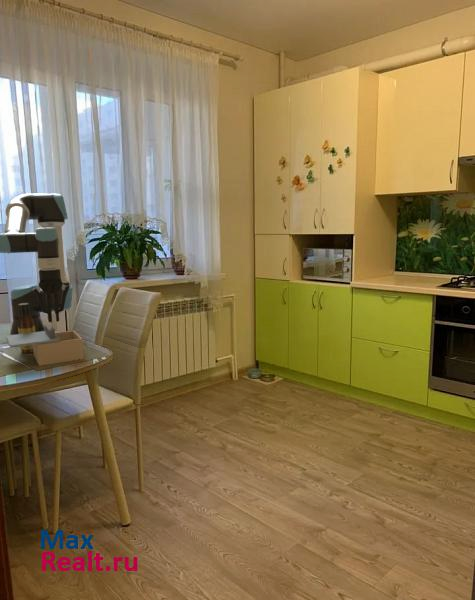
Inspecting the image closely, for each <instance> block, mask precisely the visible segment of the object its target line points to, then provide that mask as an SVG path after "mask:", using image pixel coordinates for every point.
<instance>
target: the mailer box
mask: <svg viewBox="0 0 475 600" xmlns="http://www.w3.org/2000/svg"><path fill="white" fill-rule="evenodd" d="M55 334H56V335H57V336H58V337H59V338H60V341H57V342H50V343H42V344H34V345H33V352H32V353H33V357H34V359H35V361H36V362H37V364H38V366H39V367H40V366H46V365H47V366H48V365H54V364H59V363H66V362H72V361H73V360H74V361H80V360H84V359H85V355H84V354H85V353H84V340H83V337H82V336H80V334H78V332H76V330H74V329H73V330H67V331H65V330H64V331H59V332H58V331H56V332H55ZM79 359H80V360H79Z"/></svg>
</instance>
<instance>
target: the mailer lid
mask: <svg viewBox="0 0 475 600" xmlns="http://www.w3.org/2000/svg"><path fill="white" fill-rule="evenodd" d="M44 327H45V331H41V332H33V333H25V334H16V335H10V334H9V335H6V340H7V344H8V345H9V348H10V349H11V348H17V347H19V348H20V346H27V345H34V344H42V343H50V342H57V341H60V338H59V337H58V336H57V335H56V334H55V333H56V331H55V330H54V329H53V327H52V324H50V323H48V324H44Z"/></svg>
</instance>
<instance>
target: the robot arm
mask: <svg viewBox="0 0 475 600" xmlns="http://www.w3.org/2000/svg"><path fill="white" fill-rule="evenodd" d="M64 198H65V197H64V196H63V195H62V194H61V193H53V192H52V193H51V192H50V193H23V194H20V195H18V196H16V197H14V198H13V199H12V200H10V201H9V203H8V204H7V205H6V207H5V216H6V221H5V225H4V231H3V232H1V233H0V254H14V253H15V254H16V253H18V254H19V253H21V254H22V253H37V263H38V264H37V265H38V270H39V271H38V278H39V282H38V283H37V284H36V283H31V284H26V285H21V286H15V287H14V288H12V289H11V291H10V302H11V310H12V313H11V314H12V324H11V327H10V331H9V335H16V334H19V332H18V321H19V316H20V315H19V314H20V312H19V308H18V304H21V303H29V312H30V315H31V316H32V318H33V320H34V325H35V332H41V331H45V324H44V322H43V320H42V317H41V313H44V314H46V315H47V320H48V323H51V324H50V325H51V326H52V327H53V329H54V330H55V332H58V324H57V322H60V313H61V312H64V311H69V310H70V309H71V308H72V304H73V303H72V301H73V288H74V286H73V285H71V284H70V281H69V280H68V279H67V278H66V268H65V267H66V266H65V252H64V241H63V240H64V239H63V229H62V228H63V226H64V225H65V223H66V222H65V220H68V213H67V209H66V204H65V199H64ZM28 220H29V221H30V220H34V221H35V220H36V221H37V224H38V226H40V227H37V228H36V229H35V232H26V228H27V221H28Z"/></svg>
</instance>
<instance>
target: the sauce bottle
mask: <svg viewBox="0 0 475 600" xmlns="http://www.w3.org/2000/svg"><path fill="white" fill-rule="evenodd" d="M18 308H19V312H20V314H19V315H20V316H19V321H18V332H19V334H25V333H33V332H35V325H34V320H33V318H32V316H31V315H30V312H29V303H21V304H18ZM19 348H20V350H21V352H22V353H23V354H31V353H34V352H33V345H27V346H19Z"/></svg>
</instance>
